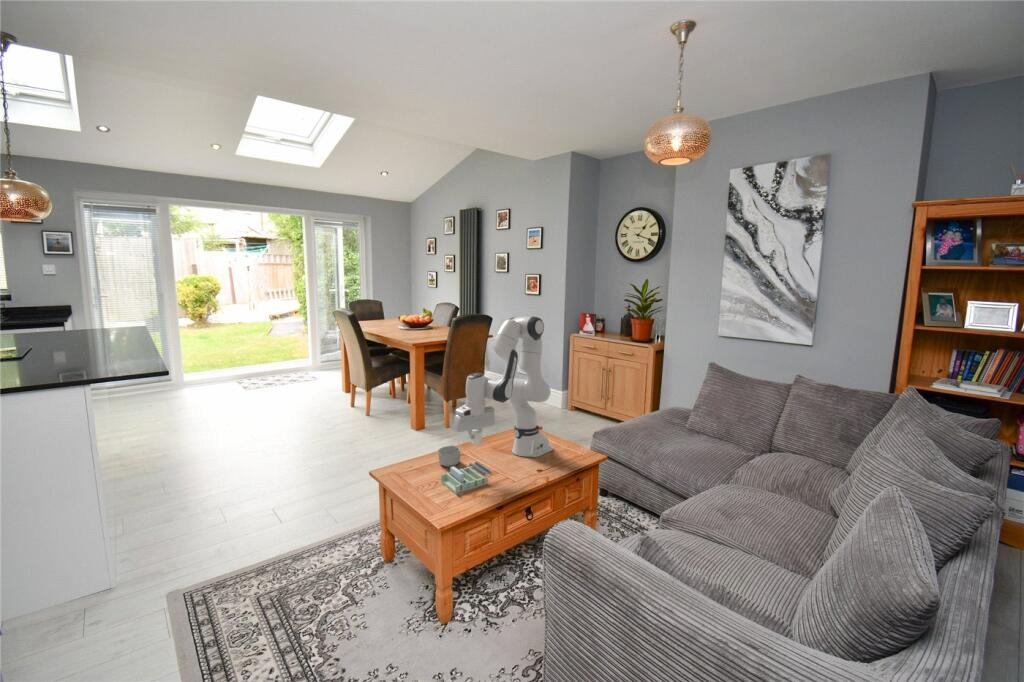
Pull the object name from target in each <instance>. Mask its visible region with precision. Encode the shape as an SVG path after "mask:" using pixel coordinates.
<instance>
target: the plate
mask: <svg viewBox="0 0 1024 682" xmlns="http://www.w3.org/2000/svg"><path fill="white" fill-rule="evenodd" d="M471 433H472V434H473V435H474V438H473V439H470V435H469V433H468V432H467V434H468V439H467V440H468V443H470V444H473V445H474V446H476V447H481V446H482V432H479V431H478V430H477V429H473V430H472V432H471Z"/></svg>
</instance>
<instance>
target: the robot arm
mask: <svg viewBox="0 0 1024 682" xmlns="http://www.w3.org/2000/svg"><path fill="white" fill-rule="evenodd" d="M544 329H545V324H544V322H543V320H542V319H541V318H540V317H538V316H528V315H527V316H525V315H524V316H518V317H511V318H508V319H506V320H504V322H503V323H502V324H501V326H500V327H499V329H498V331H497V334H495V338H494V340H493V345H492V348H493V349H492V350H493V351H494V353H495V355H497V357H499V358H501V359H502V360H504V362H505V365H504V370H503V375H502V378H500V379H495V378H492V377H491V378H489V377H487V376H485V375H484V374H483V373H481V372H473V373H470V374H467V377H466V382H465V397H466V399H465V403H464V404H463V405H461V406H459V407H457V408H456V409H455V411H454V412H455V416H454V419H453V429H454V431H455V432H456V433H461V432H466V431H467V434H468V433H469V435H470V439H473V438H474V435H473V434H472V433H471V432H472V430H473V429H474V430H477V431H479V432H481V433H482V432H483V429H484V428H488V427H494V426H495V424H496V416H495V408H494V407H493V406H492V405H491V406H486V405H485V404H486V402H485V399H487V400H492V401H495V402H499V403H506V402H507V401H510V403H511V405H512V406H513V409H514V419H515V425H514V441H513V446H512V449H511V452H512V454H513V455H516V456H520V457H529V458H538V457H541V456H544V454H545V455H546V454H547V453H549V452H551V451H553V450H554V446H552V445H551V444H550V441H549V439H548V437H547V436H546V435H544V433H541V432H540V431H542V430H543V429H544V427H543V426H542V425H537V415H538V414H537V412H536V409H535V408H534V407H532V406H531V405H530V404H529V403H528V402H533V403H543V402H546V401H548V399H549V398H550V396H551V387H550V385H549V384H548V382H546V380H544V377H543V375H542V372H541V363H542V353H543V352H542V351H543V341H542V340H543V338H542V335H543V334H544ZM519 339H522V343H521V346H520V347H521V348H520V353H519V354H520V355H519V354H518V352H517V345H518V342H519ZM518 361H519V362H518ZM518 366H519V367H518ZM517 367H518V368H520V370H521V371H522V372H524V373H525V374H526V376H527V377H526V379H525V378H515V376H516V371H517Z"/></svg>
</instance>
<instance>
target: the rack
mask: <svg viewBox="0 0 1024 682" xmlns="http://www.w3.org/2000/svg"><path fill="white" fill-rule="evenodd" d="M449 468H450V469H449V471H450V472H445V473H443V474H441V475H440V483H441V484H443V485H444V486H445V487H446V488H448V489H449V490H450V491H451V492H452V493H454V494H455V495H459V494H460V493H462V492H464V491H465V492H466V491H468V490H472V489H475V488H478V487H482V486H485V485H488V484H489V477H488V476H485V477H484V476H483V475H481V474H480V473H478V472H477V471H475V470H474V469H473V467H472V466H471V467H470V466H466V467H464V468H459V469H458V468H457V467H456V466H452V467H449Z"/></svg>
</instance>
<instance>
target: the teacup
mask: <svg viewBox="0 0 1024 682" xmlns="http://www.w3.org/2000/svg"><path fill="white" fill-rule="evenodd" d="M437 454H438V461H439V464H440V465H441V466H443V467H446V468H450V467H456V465H458V463H460V460H461V448H460V447H459V446H456V445H453V444H450V445H447V446H446V445H445V446H442V447H440V448H439V449H437Z"/></svg>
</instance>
